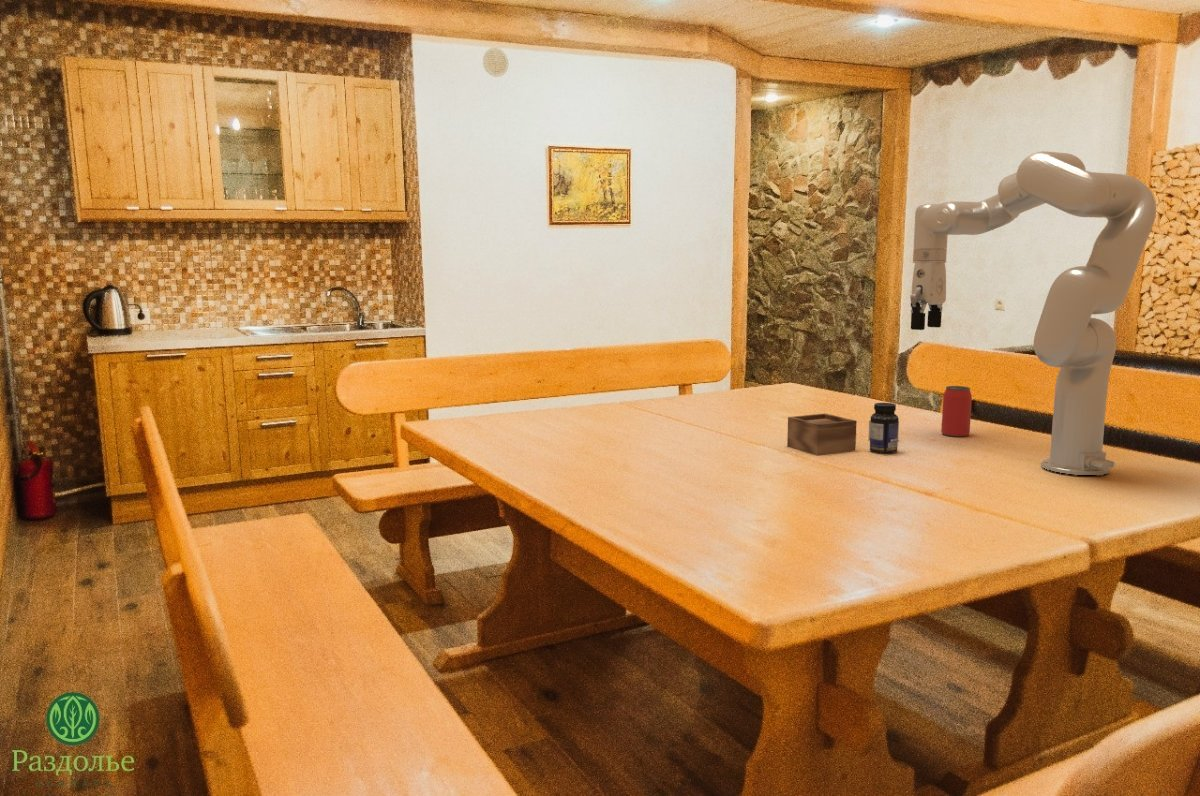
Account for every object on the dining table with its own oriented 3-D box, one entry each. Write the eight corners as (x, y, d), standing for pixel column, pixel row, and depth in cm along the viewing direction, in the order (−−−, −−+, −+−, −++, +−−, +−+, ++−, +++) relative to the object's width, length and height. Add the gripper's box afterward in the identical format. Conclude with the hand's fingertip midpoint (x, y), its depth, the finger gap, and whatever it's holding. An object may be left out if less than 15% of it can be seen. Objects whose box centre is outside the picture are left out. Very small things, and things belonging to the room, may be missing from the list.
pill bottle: (893, 448, 208) (896, 402, 206) (900, 454, 202) (902, 406, 200) (866, 448, 208) (868, 401, 207) (872, 454, 202) (874, 406, 201)
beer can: (973, 437, 220) (976, 389, 219) (946, 437, 221) (949, 389, 219) (963, 432, 227) (966, 385, 225) (937, 432, 227) (939, 385, 225)
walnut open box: (855, 450, 206) (856, 420, 205) (817, 455, 201) (818, 424, 200) (824, 441, 216) (825, 413, 215) (787, 446, 211) (788, 417, 210)
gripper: (930, 257, 205) (926, 331, 208) (959, 256, 218) (955, 327, 220) (899, 257, 210) (895, 329, 213) (928, 256, 223) (925, 325, 225)
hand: (925, 328), depth 217 cm, fingers open, 9 cm apart
